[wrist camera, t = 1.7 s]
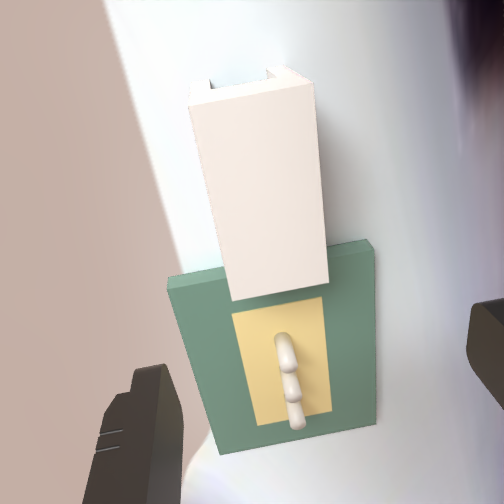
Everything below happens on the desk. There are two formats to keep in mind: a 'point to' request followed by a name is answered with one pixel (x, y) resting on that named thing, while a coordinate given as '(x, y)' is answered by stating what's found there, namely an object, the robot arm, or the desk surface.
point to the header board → (283, 352)
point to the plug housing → (263, 181)
